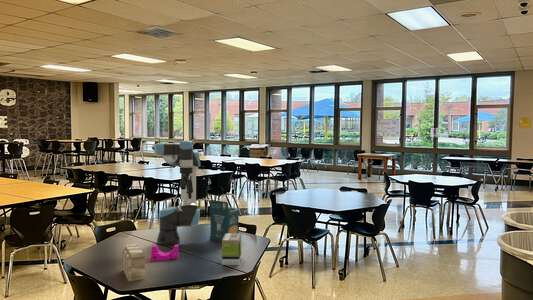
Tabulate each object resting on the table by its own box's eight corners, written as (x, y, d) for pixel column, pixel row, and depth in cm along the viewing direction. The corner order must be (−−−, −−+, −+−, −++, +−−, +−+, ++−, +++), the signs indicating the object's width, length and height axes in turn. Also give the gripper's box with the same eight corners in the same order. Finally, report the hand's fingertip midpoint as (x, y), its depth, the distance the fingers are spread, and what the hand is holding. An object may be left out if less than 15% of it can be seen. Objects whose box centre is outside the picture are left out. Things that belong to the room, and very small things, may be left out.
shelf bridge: (122, 270, 217) (122, 245, 216) (138, 267, 221) (137, 243, 220) (128, 281, 200) (128, 255, 200) (144, 279, 204) (144, 252, 204)
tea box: (225, 257, 241) (225, 232, 240) (241, 257, 241) (241, 232, 240) (221, 265, 226) (221, 239, 225) (239, 265, 226) (239, 239, 225)
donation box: (209, 239, 278) (209, 199, 277) (225, 234, 291) (225, 196, 290) (227, 243, 269) (227, 202, 268) (242, 238, 282) (242, 198, 281)
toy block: (151, 261, 233) (150, 248, 232) (152, 257, 239) (152, 245, 239) (177, 260, 235) (177, 247, 234) (178, 256, 241) (178, 244, 241)
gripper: (174, 164, 248) (174, 198, 250) (185, 169, 226) (185, 206, 228) (186, 164, 252) (186, 197, 253) (198, 168, 230) (198, 205, 231)
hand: (186, 202), depth 240 cm, fingers open, 13 cm apart
